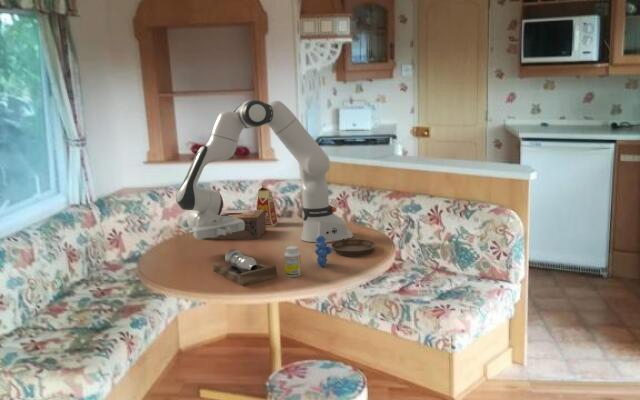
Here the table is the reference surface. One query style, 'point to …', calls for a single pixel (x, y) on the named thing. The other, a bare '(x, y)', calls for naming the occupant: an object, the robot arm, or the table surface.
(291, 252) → the supplement bottle
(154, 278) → the table surface
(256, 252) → the table surface
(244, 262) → the silver ridged container
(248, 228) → the tissue box cover
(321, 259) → the grapes
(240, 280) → the wooden tray
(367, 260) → the table surface
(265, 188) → the milk carton
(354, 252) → the plant saucer
